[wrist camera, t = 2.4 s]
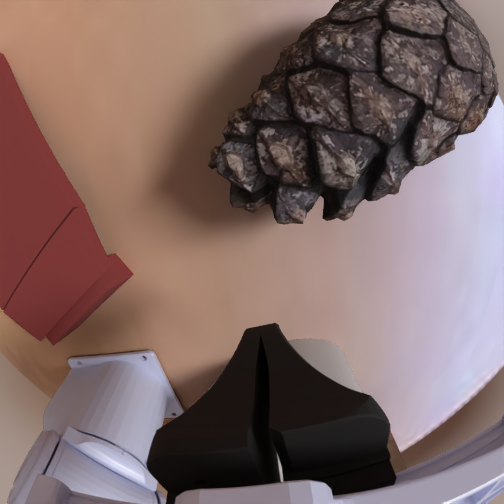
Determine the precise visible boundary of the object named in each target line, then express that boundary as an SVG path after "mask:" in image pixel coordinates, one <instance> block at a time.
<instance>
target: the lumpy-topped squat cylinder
mask: <svg viewBox="0 0 504 504" xmlns="http://www.w3.org/2000/svg"><path fill="white" fill-rule="evenodd" d="M288 342H289V343H290V344H291V346H292V347H293V348H294V349H295V350H296V351H297V352H298V353H299V354H300V355H301V356H302V357H303V358H304V359H305V360H306V361H307V362H308V363H309V364H310V365H312V366H313V367H314V368H315V369H317V370H318V371H319V372H321V373H322V374H324V375H325V376H327V377H329V378H330V379H332V380H334V381H336V382H337V383H339V384H341V385H343V386H345V387H347V388H350V389H352V390H355V391H358V392H361V393H363V392H362V390H361V388H360V386H359V383H358V381H357V379H356V377H355V374H354V372H353V370H352V368H351V366H350V364H349V361H348V359H347V357H346V355H345V353H344V351H343V350H342V349H341V348H340V347H339V346H338V345H336V344H335V343H332V342H330V341H326V340H319V339H296V340H291V341H288ZM217 380H218V379H217ZM217 380H216V381H217ZM216 381H215V382H216ZM215 382H214V383H215ZM214 383H213V384H212V385H211V386H210V387H209V388H208V390H209V389H210V388H211V387H212V386H213V385H214ZM208 390H207V391H208ZM277 457H278V454H277ZM278 464H279V472H280V478H281V482H283V474H282V466H281V463H280V460H279V457H278Z"/></svg>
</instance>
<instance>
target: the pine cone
mask: <svg viewBox="0 0 504 504" xmlns="http://www.w3.org/2000/svg"><path fill="white" fill-rule="evenodd" d="M494 68H495V63H494V61H493V58H492V56H491V53H490V48H489V44H488V41H487V40H486V38H485V37H484V35H483V34H482V33H481V32H480V30H479V28H478V27H477V25H476V24H475V21H474V19H473V18H472V17H471V16H470V15H469V14H468V13H467V12H466V11H465V10H464V9H462V8H461V7H460V6H459V4H458V3H457V2H456V1H455V0H339V2H337V3H335V5H334V6H333V7H332V9H331V10H330V12H329V13H328V14H327V15H326V16H325V17H322V18H319V19H316V20H315V21H314V22H313V23H311V25H310V26H309V27H308V28H306V29H305V30H304V31H302V32H301V34H300V37H299V40H298V41H297V42H296V43H294V44H292V45H291V46H288V47H285V48H283V52H281V53H280V59H279V61H278V63H277V66H276V67H275V68H274V71H273V72H272V73H270V74H269V75H266V76H262V79H261V84H260V86H259V89H258V91H256V92H254V93H253V94H252V96H251V97H252V103H250V104H248V105H247V106H245V107H243V108H241V109H238V110H235V111H233V112H232V113H230V114H229V120H228V125H227V126H226V127H225V129H224V130H223V131H222V132H223V135H224V137H225V140H226V142H223V143H222V145H221V146H219V147H214V148H213V149H212V150H211V161H210V162H209V165H208V166H209V167H210V168H211V169H214V168H217V172H218V173H219V174H220V175H221V176H223V177H224V178H226V179H227V180H229V181H230V182H231V188H230V203H231V205H232V207H233V208H243V209H245V210H247V211H249V212H251V213H254V212H255V211H256V210H257V209H258V208H259V207H261V206H263V205H265V204H270V206H271V208H272V210H273V214H274V218H275V219H276V221H277V223H279V224H289V223H297V224H303V221H304V219H305V218H306V215H307V212H309V211H310V210H311V209H312V207H313V206H314V204H315V202H316V201H317V199H318V197H319V196H322V197H323V198H324V208H323V219H325V220H326V221H328V220H333V219H335V218H339V219H341V220H343V221H345V220H347V219H349V218H350V217H351V216H352V215H353V213H354V210H355V208H356V207H357V206H358V205H359V203H360V202H361V201H362V200H364V199H366V200H367V201H375V200H378V199H380V198H382V197H384V196H385V195H387V194H393V195H395V194H397V193H398V192H399V188H400V185H401V181H402V179H403V178H404V177H405V176H406V175H407V174H408V173H409V172H410V171H411V170H412V169H413V168H414V167H415V166H424V165H425V164H428V163H430V162H431V161H433V160H435V159H436V158H439V157H441V156H442V155H444V154H446V153H448V152H450V151H452V150H454V149H455V145H454V142H455V140H456V138H457V136H458V135H463V134H467V133H471V132H474V131H475V130H476V128H477V127H478V126H479V125H480V124H481V123H482V121H483V120H484V119H485V117H486V115H487V113H488V110H489V108H491V107H492V105H493V103H494V100H495V98H496V96H497V95H498V85H499V84H498V82H497V77H496V76H497V73H496V72H495V70H494Z"/></svg>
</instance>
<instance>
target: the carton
mask: <svg viewBox="0 0 504 504" xmlns="http://www.w3.org/2000/svg"><path fill="white" fill-rule="evenodd" d="M132 275H133V273H132V272H131V271H130V269H129V268H128V267H127V266H126V265H125V264H124V263H123V262H122V260H121V259H120V258H119V257H118V256H117V255H116V253H115V254H113V255H110V256H108V257H107V255H106V253H105V250H104V248H103V246H102V244H101V242H100V240H99V238H98V235H97V233H96V231H95V229H94V226H93V224H92V222H91V220H90V217H89V215H88V212H87V210H86V208H85V205H84V203H83V202H82V200H81V199H80V197H79V196H78V194H77V192H76V191H75V189H74V188H73V186H72V184H71V183H70V181H69V180H68V178H67V176H66V175H65V173H64V171H63V170H62V168H61V166H60V165H59V163H58V161H57V159H56V158H55V156H54V154H53V153H52V151H51V149H50V147H49V145H48V144H47V142H46V140H45V138H44V136H43V135H42V133H41V131H40V129H39V127H38V125H37V123H36V121H35V119H34V117H33V115H32V113H31V111H30V109H29V107H28V105H27V103H26V101H25V99H24V97H23V95H22V93H21V91H20V88H19V86H18V84H17V82H16V80H15V77H14V75H13V73H12V70H11V68H10V66H9V63H8V61H7V60H6V58H5V56H4V54H2V53H0V307H1V309H2V310H4V311H3V312H4V313H5V314H7V315H8V316H9V317H10V318H11V319H13V320H14V321H15V322H16V323H17V324H19V325H20V326H21V327H22V328H24V329H25V330H26V331H28V332H29V333H30V334H31V335H33V336H34V337H35V338H37V339H38V340H39V341H42V339H43V338H44V337H45V336H46V337H47V338H48V339H49V341H50V342H51V344H52V345H53V346H54V345H55V344H56V343H58V342H59V341H60V340H61V339H63V338H64V337H65V336H67V335H68V334H69V333H71V332H72V331H73V330H75V329H76V328H78V327H79V326H80V325H81V324H82V323H83V322H84V321H85V320H86V319H87V318H88V317H89V316H90V315H91V314H92V313H93V312H94V311H95V310H96V309H97V308H98V307H99V306H100V305H101V304H102V303H103V302H104V301H105V300H106V299H108V298H109V297H110V296H111V295H112V294H113V293H114V292H115V291H116V290H117V289H118V288H119V287H120V286H121V285H122V284H124V283H125V282H126V281H127V280H128V279H129V278H130V277H131V276H132Z"/></svg>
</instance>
